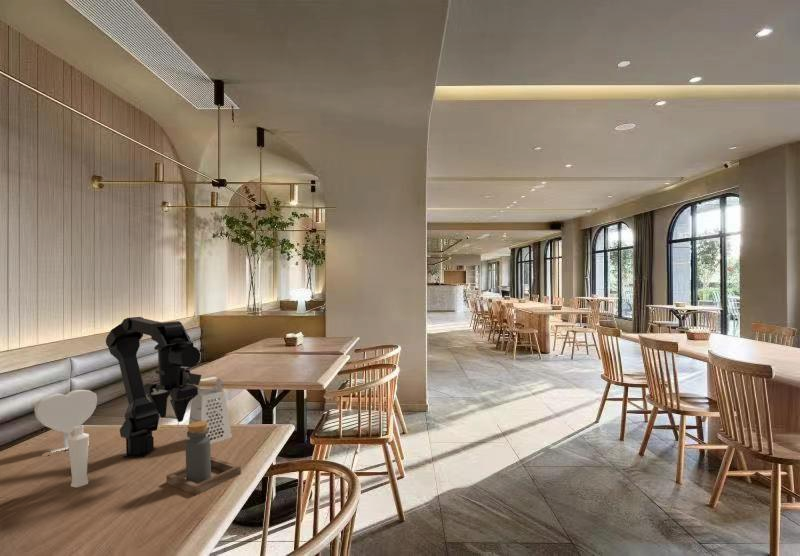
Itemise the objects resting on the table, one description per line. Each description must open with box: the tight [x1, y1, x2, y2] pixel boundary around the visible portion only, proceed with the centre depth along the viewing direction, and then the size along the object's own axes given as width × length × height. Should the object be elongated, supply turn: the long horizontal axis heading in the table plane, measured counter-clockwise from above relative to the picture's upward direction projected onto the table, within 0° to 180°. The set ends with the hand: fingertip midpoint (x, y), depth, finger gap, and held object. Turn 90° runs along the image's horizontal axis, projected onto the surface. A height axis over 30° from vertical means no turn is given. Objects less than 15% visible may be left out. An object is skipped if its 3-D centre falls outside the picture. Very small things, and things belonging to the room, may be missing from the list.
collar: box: [166, 456, 242, 496], centre depth 110 cm, size 13×13×2 cm
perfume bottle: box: [68, 424, 90, 489], centre depth 109 cm, size 5×4×15 cm
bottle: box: [185, 421, 212, 484], centre depth 109 cm, size 6×6×15 cm
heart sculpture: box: [33, 389, 98, 453], centre depth 134 cm, size 16×5×18 cm, turn 143°
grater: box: [186, 376, 233, 445], centre depth 140 cm, size 10×10×20 cm
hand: (171, 419), depth 120 cm, fingers open, 9 cm apart
